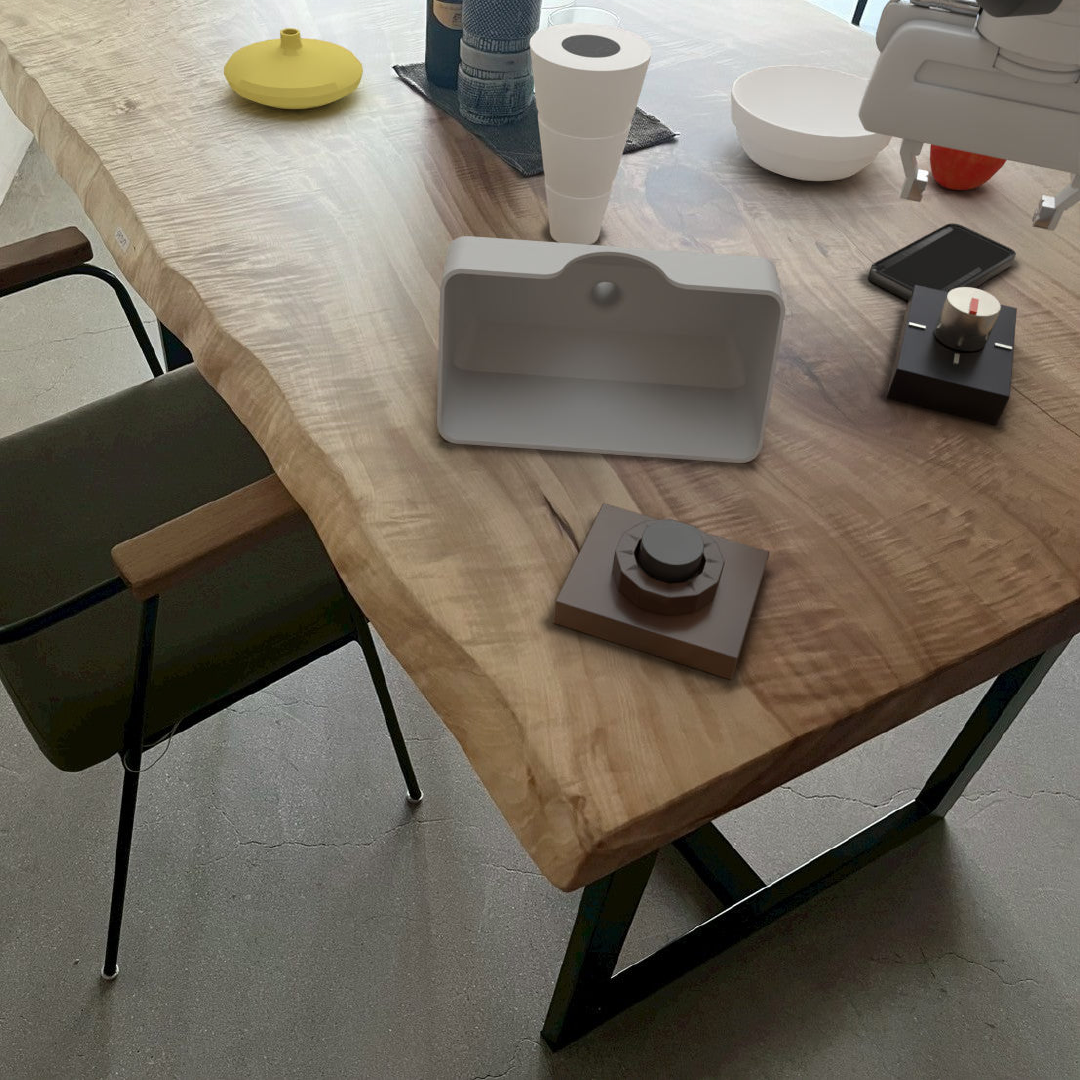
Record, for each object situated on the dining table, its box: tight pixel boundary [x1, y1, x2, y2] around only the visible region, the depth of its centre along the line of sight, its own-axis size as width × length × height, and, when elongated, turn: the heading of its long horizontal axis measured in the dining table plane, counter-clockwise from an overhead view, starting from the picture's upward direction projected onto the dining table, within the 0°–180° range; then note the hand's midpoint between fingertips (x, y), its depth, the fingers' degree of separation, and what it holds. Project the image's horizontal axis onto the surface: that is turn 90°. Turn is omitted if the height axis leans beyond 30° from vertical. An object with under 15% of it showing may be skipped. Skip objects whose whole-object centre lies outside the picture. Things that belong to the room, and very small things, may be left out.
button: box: [639, 519, 704, 583], centre depth 67 cm, size 4×4×2 cm
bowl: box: [730, 64, 893, 182], centre depth 115 cm, size 18×18×7 cm
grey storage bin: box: [436, 235, 786, 464], centre depth 82 cm, size 25×16×12 cm, turn 88°
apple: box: [929, 144, 1007, 191], centre depth 112 cm, size 8×8×11 cm
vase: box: [223, 27, 364, 110], centre depth 120 cm, size 16×16×7 cm
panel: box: [886, 285, 1018, 426], centre depth 90 cm, size 14×9×3 cm, turn 160°
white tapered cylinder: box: [529, 22, 653, 245], centre depth 97 cm, size 11×11×18 cm
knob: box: [934, 287, 1002, 351], centre depth 88 cm, size 4×4×4 cm
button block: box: [553, 502, 771, 680], centre depth 69 cm, size 12×10×4 cm
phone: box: [867, 222, 1017, 303], centre depth 102 cm, size 8×1×15 cm
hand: (975, 211), depth 76 cm, fingers open, 8 cm apart
